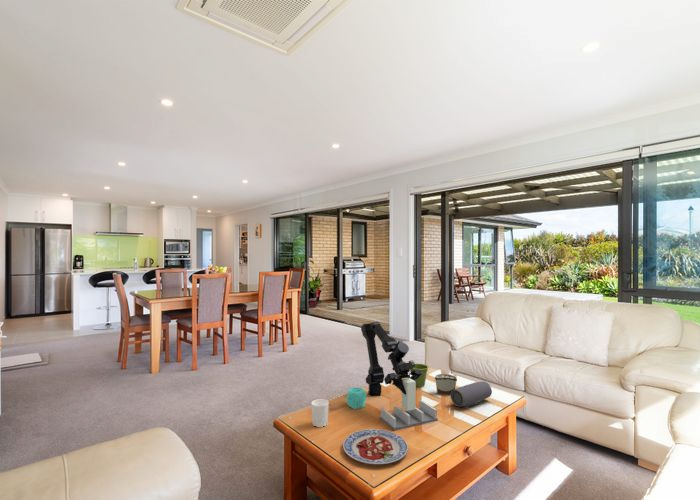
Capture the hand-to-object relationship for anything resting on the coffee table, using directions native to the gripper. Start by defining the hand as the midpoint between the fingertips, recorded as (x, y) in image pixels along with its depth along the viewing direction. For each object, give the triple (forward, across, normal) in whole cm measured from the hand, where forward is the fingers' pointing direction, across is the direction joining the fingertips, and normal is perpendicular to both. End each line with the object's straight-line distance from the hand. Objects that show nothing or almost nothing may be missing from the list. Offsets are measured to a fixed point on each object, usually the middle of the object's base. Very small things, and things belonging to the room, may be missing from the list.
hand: (410, 393), depth 168 cm
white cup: (0, -40, +19) cm, 44 cm away
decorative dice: (-9, -16, +27) cm, 33 cm away
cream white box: (+4, 0, +6) cm, 7 cm away
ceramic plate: (+20, -27, -2) cm, 34 cm away
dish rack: (+8, 0, +10) cm, 13 cm away
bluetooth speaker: (+7, +41, +12) cm, 43 cm away
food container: (-5, +37, +24) cm, 44 cm away
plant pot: (-17, +31, +35) cm, 50 cm away
